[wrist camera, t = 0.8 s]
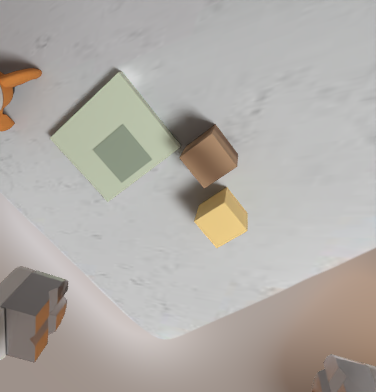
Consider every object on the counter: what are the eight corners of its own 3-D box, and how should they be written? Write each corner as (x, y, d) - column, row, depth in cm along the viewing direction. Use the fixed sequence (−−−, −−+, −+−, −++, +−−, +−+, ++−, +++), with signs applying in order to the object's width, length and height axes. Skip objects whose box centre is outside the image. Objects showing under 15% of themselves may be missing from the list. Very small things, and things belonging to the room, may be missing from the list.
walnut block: (215, 124, 42) (212, 133, 38) (237, 154, 44) (237, 166, 39) (186, 146, 44) (179, 157, 40) (208, 174, 45) (204, 188, 41)
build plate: (121, 71, 41) (118, 72, 40) (180, 145, 44) (179, 148, 43) (54, 136, 47) (49, 138, 45) (110, 198, 49) (107, 202, 48)
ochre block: (226, 186, 46) (224, 202, 41) (247, 213, 47) (247, 230, 42) (199, 204, 48) (194, 221, 43) (219, 229, 49) (216, 248, 44)
